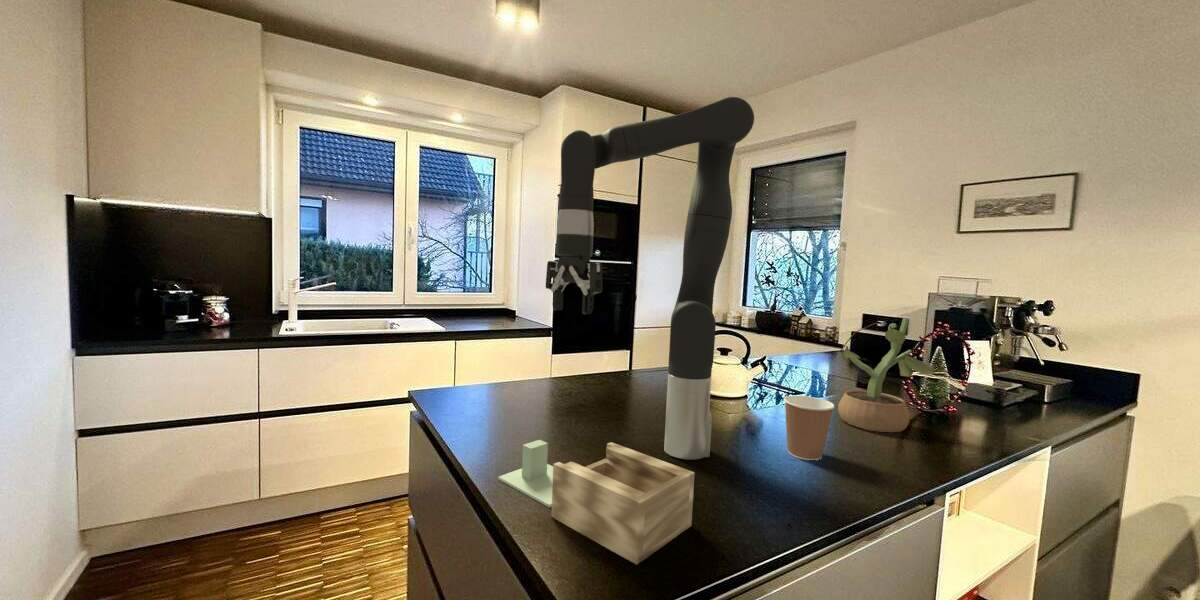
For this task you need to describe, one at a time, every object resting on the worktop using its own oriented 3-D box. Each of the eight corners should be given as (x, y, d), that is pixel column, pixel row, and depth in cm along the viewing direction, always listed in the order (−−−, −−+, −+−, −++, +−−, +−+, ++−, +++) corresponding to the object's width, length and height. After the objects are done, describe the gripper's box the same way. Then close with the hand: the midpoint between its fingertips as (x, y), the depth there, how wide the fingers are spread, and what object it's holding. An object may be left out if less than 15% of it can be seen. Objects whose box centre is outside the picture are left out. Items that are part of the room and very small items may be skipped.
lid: (592, 490, 86) (593, 452, 86) (549, 510, 79) (550, 469, 78) (541, 465, 96) (542, 431, 95) (498, 482, 88) (499, 444, 87)
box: (691, 525, 75) (694, 472, 74) (636, 564, 64) (639, 503, 64) (609, 488, 86) (611, 442, 85) (551, 516, 76) (553, 463, 75)
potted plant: (820, 416, 136) (828, 311, 134) (870, 413, 141) (879, 312, 139) (889, 446, 114) (900, 321, 112) (945, 441, 120) (956, 322, 118)
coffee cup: (830, 451, 109) (834, 399, 108) (830, 468, 100) (835, 411, 99) (781, 442, 113) (785, 393, 113) (778, 457, 104) (782, 403, 103)
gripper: (613, 234, 96) (609, 314, 98) (564, 235, 106) (561, 308, 107) (587, 231, 91) (584, 316, 92) (538, 232, 100) (535, 309, 101)
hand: (571, 312), depth 99 cm, fingers open, 8 cm apart
